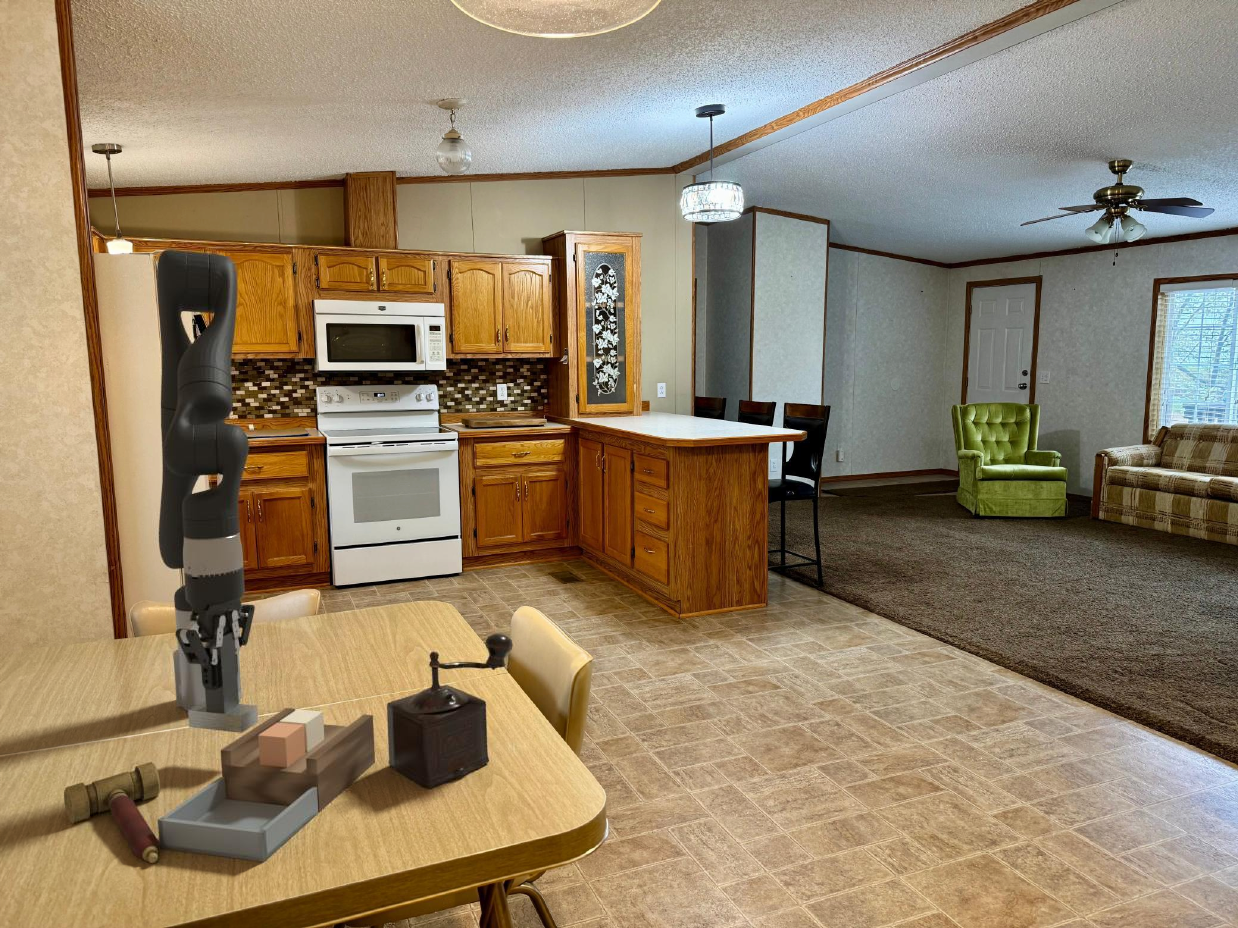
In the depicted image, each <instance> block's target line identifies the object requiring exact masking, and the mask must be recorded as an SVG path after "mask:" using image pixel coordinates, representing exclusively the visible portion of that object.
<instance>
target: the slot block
mask: <svg viewBox="0 0 1238 928" xmlns="http://www.w3.org/2000/svg"><path fill="white" fill-rule="evenodd" d="M294 711H296V708H291V707H290V708H289V707H285V708H284V709H282V710H280V711H279V712H277V713H276V714H274V715H273V716H271V717H270V718H269V719H266V720H265V721H264V722H262V723H261V724H259V725H257V726H256V727H254V728H253V729H251V730H249V731H248V732H246V733H245V734H243V735H242V736H240V737H238V738H237V739H235V740H234V741H232V742H231V743H229V744H228V745H226V746H224V747H223V748H221V749H220V750H219V751H220V763H221V765H220V766H221V777H225V790H226V799H228V800H237V801H246V802H255V803H264V804H273V805H282V806H290V805H291V804H292V803H293V802H295V801H296V800H297V799H298V798H299V797H301V796H302V795H303V794H304V793H305V792H307V791H308V790H309V789H310V788H311V787H317V800H318V813H320V812H322V810H324V809H325V808H326V807H327V806H328V805H329V804H331V803H332V802H333V801H334V800H335V799H336V798H338V796H340V794H341V793H342V792H344V791H345V790H346V789H347V788H348V787H350V785H351V784H352V783H354V782H355V781H356V780H357V779H358V778H360V776H361V775H362V774H363V773H365V772H366V771H367V770H368V769H369V768H370V767H372V766H373V764H375V763H376V753H375V752H376V751H375V748H376V747H375V732H374V730H375V729H374V715H373V714H362V715H360V716H359V717H358V718H357V719H356V720H354V721H353V722H351V723H350V724H349V725H347V726H345V725H336V724H335V725H334V724H325V723H324V740H323V741H322V742H320V743H319V744H318V745H316V746H315V747H314V748H312V749H311V750H310V751H308V752H305V754H304V755H303V756H302V757H300V758H299V759H298V760H296V761H295V762H294V763H293V764H291V765H290V766H289V767H278V766H268V765H260V756H259V741H258V735H259V734H261V733H262V732H264V731H265V730H267V729H268V728H270V727H271V726H273V725H274V724H276V723H280V721H281V720H282V719H284V718H285V717H287V716H288V715H290V714H291V713H293V712H294Z"/></svg>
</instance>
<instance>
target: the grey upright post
mask: <svg viewBox="0 0 1238 928" xmlns="http://www.w3.org/2000/svg"><path fill="white" fill-rule="evenodd" d="M204 640H205V641H213V640H214V639H204ZM207 655H210V648H207ZM218 663H219V674H220V688H218V689H216V690H209V689H205V697H206V701H204V702H202V703H201V704H199V705H197V706H195V707H193V708H191V709H190V710H188V711H187V713H188V715H187V716H188V727H189V728H194V729H203V730H210V731H211V730H212V731H219V732H220V731H221V732H222V731H223V732H230V733H231V732H232V733H237V734H239V733H240V734H242V733H243V732H245V731H247V730H248V729H250V728H251V727H253V726H255V725H256V724H258V723H259V717H258V715H259V714H258V712H259V711H258V705H253V704H245V703H243V704H242V703H240V700H239V698H238V681H237V665H236V649H235V640H234V638H233V632H228V633H226V634H224V635H223V642H222V646H221V647H219V656H218Z"/></svg>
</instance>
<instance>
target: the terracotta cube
mask: <svg viewBox="0 0 1238 928" xmlns="http://www.w3.org/2000/svg"><path fill="white" fill-rule="evenodd" d="M258 741H259V756H260V765H268V766H278V767H289V766H290V765H291V764H293V763H294V762H295V761H296V760H298V759H299V758H300V757H302V756H303V755H304V754H305V737H304V725H298V724H287V723H276V724H274V725H273V726H271V727H270V728H268V729H267V730H265V731H264V732H262V733H261V734H259V735H258Z"/></svg>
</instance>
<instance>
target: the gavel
mask: <svg viewBox="0 0 1238 928" xmlns="http://www.w3.org/2000/svg"><path fill="white" fill-rule="evenodd" d="M159 777H160V776H159V772H158V769H157V767H156V765H155V763H153V762H151V761H150V762H147V763H143V764H141V765H137V766H135V767H134V770H132V771H125V772H121V773H118V774H115V775H112V776H107V777H105V778H102V779H97V780H95V781H92V782H91V783H89V784H85V783H84V782H79V783H76V784H72V785H70V786H66V787H65V789H64V791H63V801H64V808H65V814H66V818H67V817H68V818H67V820H68V819H69V820H68V822H69V821H70V822H71V823H70V822H69V823H70V824H72V823H73V824H76V823H79V822H82V821H81V820H83V821H85V820H84V819H86V820H89V819H90V815H92V814H96V813H97V812H98V813H97V814H99V813H102V812H105V811H106V812H107V811H108V810H110V813H111V815H112V817H113V818H114V819H113V820H114V821H115V822H116V824H117V826H118V828H119V829H120V831H121V832H122V835H123V836H124V837H125V840H126V842H127V843H128V844H129V847H130V848H131V850H132V852H133V853H134V855H135V856H136V857H137V858H139V859H143V860H144V861H146V862H149V863H150V864H153V863H154V864H155V862H157V860H158V859H159V856H158V854H159V849H158V848H159V839H158V838H157V837H156V835H155V834H154V832H153V830H152V828H151V827H150V826H149V824H148V822H147V821H146V820H145V818H144V816H143V815H142V813H141V812H140V810H139V808H138V807H137V805H136V804H135V802H134V801H135V800H139V799H140V800H141V801H143V802H145V801H147V800H149V799H153V798H156V797H159V794H160V792H161V783H160V778H159ZM88 818H89V819H88ZM78 821H79V822H78ZM75 822H76V823H75Z"/></svg>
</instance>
